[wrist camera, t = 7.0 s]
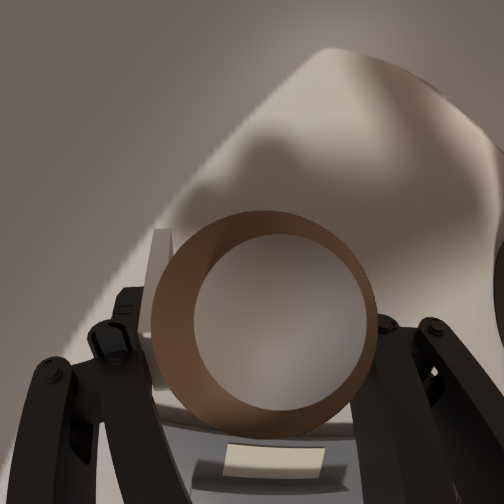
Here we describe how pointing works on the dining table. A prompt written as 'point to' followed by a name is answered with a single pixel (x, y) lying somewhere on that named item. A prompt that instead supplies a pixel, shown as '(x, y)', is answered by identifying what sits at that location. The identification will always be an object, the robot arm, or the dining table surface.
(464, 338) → the dining table surface
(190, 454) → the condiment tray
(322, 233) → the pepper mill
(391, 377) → the robot arm
